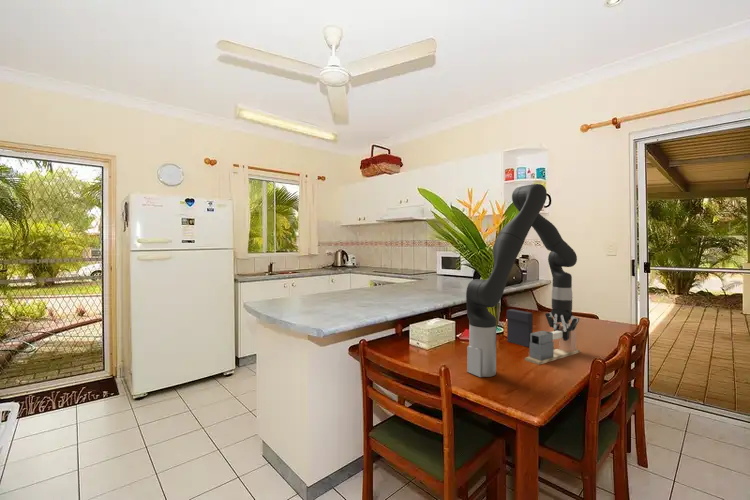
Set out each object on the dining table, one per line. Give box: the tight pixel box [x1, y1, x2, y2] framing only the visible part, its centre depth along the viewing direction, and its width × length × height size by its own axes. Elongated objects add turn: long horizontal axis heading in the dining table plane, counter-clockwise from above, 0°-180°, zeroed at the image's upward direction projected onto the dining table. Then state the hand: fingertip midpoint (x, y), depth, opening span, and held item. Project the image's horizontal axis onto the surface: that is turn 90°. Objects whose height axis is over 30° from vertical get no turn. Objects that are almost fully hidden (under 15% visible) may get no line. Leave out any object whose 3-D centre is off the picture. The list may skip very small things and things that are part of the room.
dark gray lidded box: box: [506, 308, 534, 348], centre depth 160 cm, size 11×4×15 cm, turn 34°
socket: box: [558, 324, 577, 352], centre depth 148 cm, size 4×5×10 cm
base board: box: [524, 347, 581, 366], centre depth 143 cm, size 28×6×1 cm, turn 121°
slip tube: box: [550, 329, 564, 341], centre depth 144 cm, size 17×3×3 cm, turn 121°
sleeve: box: [528, 330, 555, 361], centre depth 139 cm, size 8×5×10 cm, turn 121°
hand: (561, 339), depth 145 cm, fingers closed on slip tube, 3 cm apart
